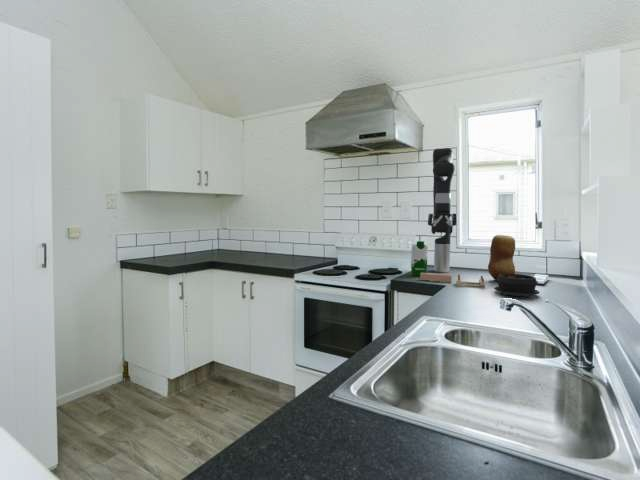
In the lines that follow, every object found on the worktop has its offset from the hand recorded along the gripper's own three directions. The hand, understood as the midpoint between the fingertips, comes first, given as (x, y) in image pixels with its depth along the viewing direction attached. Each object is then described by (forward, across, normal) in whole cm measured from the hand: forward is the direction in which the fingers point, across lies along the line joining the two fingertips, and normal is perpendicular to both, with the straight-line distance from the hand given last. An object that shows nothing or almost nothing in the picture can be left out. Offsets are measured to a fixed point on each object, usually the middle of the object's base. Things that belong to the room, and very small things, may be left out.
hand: (441, 233), depth 204 cm
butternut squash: (+26, -35, -4) cm, 44 cm away
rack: (+26, -13, +7) cm, 30 cm away
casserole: (+26, -24, +28) cm, 45 cm away
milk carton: (+26, +3, -23) cm, 35 cm away
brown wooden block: (+26, 0, -6) cm, 27 cm away
